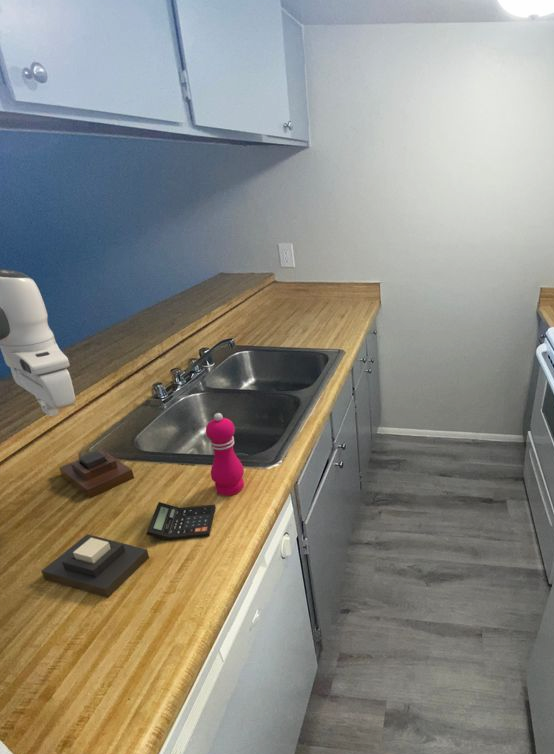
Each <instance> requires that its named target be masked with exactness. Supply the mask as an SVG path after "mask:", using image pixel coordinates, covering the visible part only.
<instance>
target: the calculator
mask: <svg viewBox="0 0 554 754" xmlns="http://www.w3.org/2000/svg"><path fill="white" fill-rule="evenodd" d="M215 512H216V504H215V503H214V504H206V505H205V504H204V505H194V506H184V507H178V506H175V505H171V504H169V503H164V502H161V501H158V503H157V505H156V507H155V509H154V512H153V515H152V518H151V520H150V523H149V525H148V528H147V530H146V533H145V535H146V536H150V537H155V538H159V539H163V540H166V541H178V540H189V539H198V538H206V537H207V538H208V537H210V535H211V529H212V525H213V521H214V517H215Z"/></svg>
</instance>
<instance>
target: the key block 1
mask: <svg viewBox="0 0 554 754" xmlns="http://www.w3.org/2000/svg"><path fill="white" fill-rule="evenodd" d="M98 452H99V453H101V454H102V455H104V456H105V459H106V462H104V463H102V464H99V465H97V466H95V467H92V468H90V469H87V468H86V467H84V466H83V465H82V464H81V463H80V461H79V459H77V460H75V461H72V462H69V463H67V464H65V465H61V466H59V467H58V469H59V472H60V475H61V477H62V478H64V479H65V480H66V481H67V482H69V483H70V484H71V485H73V486H74V487H75V488H76V489H77V490H79V491H80V492H81V493H83V495H85V496H86V497H88V498H89V499H93V498H94V497H97V496H99V495H102V494H103V493H106V492H108V491H110V490H112V489H114V488H116V487H118V486H121V485H123V484H125V483H127V482H129V481H131V480H133V479H135V475H134V472H133V469H132V468H130V467H128V466H127V465H126V464H125V463H123V462H122V461H120V460H118V459H117V458H115V456H112V455H111V454H110V453H108V452H107V451H105V450H104V449H102V450H98Z"/></svg>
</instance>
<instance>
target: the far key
mask: <svg viewBox="0 0 554 754" xmlns="http://www.w3.org/2000/svg"><path fill="white" fill-rule="evenodd" d="M78 460H79V461H80V463H81V464H82V465H83V466H84V467H86V468H87V469H90V468H92V467H95V466H97V465H99V464H102V463H104V462H106V459H105V456H104V455H102V454H101V453H99V450H94V451H91V452H89V453H87V454H84V455H82V456H80V457H78Z"/></svg>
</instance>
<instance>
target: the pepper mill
mask: <svg viewBox="0 0 554 754" xmlns="http://www.w3.org/2000/svg"><path fill="white" fill-rule="evenodd" d="M235 431H236V428H235V424H234V423H233V421H232V420H230V419H228V418H226V417H223V414H222V413H220V412H217V413H215V414H214V415H213V419H211V420H210V421H208V423H207V424H206V427H205V435H206V437H207V439H209V443H210V447H211V449H212V450H213V453H214V454H213V455H214V458H213V463H212V465H211V468H210V478H211V480H212V481H213V482H214V487H215V492H216V493H217V494H219V495H221V496H226V497H227V496H234V495H237V494H238V493H240V492H241V491H242V490H243V489H244V485H245V483H244V479H243V477H244V475H245V474H244V473H245V469H244V466H243V464H242V461H241V460H240V459H239V458H238V456H237V455H236V453H235V450H234V445H235V438H234V434H235Z"/></svg>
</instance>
